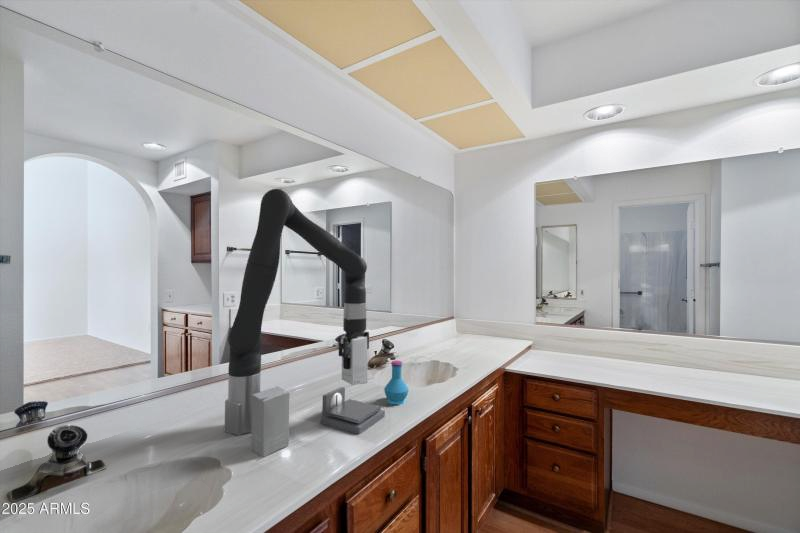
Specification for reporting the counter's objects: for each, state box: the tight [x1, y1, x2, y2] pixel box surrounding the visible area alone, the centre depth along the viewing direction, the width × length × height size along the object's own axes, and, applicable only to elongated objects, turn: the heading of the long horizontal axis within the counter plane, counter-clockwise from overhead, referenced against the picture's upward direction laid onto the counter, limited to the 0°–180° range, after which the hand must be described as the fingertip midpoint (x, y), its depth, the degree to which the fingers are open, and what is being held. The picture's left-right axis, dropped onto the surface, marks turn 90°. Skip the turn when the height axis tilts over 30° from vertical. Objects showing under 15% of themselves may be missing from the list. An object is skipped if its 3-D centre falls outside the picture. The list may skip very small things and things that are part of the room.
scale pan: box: [326, 398, 382, 423], centre depth 120 cm, size 13×13×2 cm
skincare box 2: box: [341, 335, 369, 386], centre depth 120 cm, size 8×6×15 cm
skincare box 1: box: [250, 386, 290, 458], centre depth 100 cm, size 8×7×16 cm
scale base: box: [320, 386, 386, 435], centre depth 120 cm, size 15×17×8 cm
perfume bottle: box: [383, 360, 409, 405], centre depth 138 cm, size 9×9×15 cm
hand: (354, 365), depth 120 cm, fingers closed on skincare box 2, 7 cm apart
